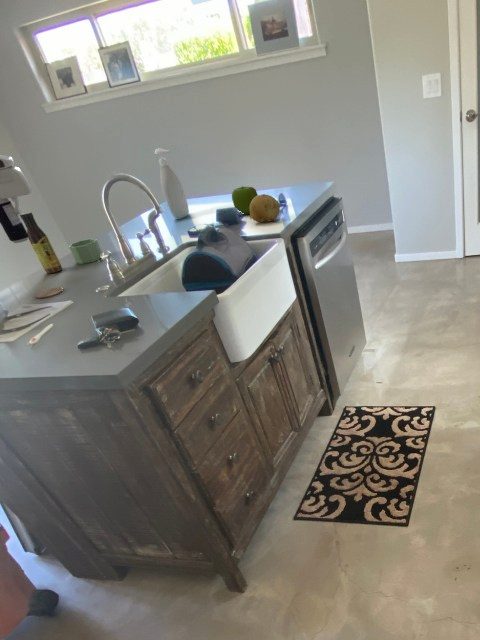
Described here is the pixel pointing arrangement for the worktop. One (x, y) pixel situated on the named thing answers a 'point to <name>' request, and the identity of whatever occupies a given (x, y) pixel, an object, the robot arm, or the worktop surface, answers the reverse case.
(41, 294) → the coaster
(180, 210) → the soap bottle
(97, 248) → the green bowl
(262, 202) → the potato
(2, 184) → the robot arm
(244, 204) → the apple
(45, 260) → the sauce bottle
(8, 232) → the beverage can
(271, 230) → the worktop surface
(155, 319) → the worktop surface
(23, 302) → the worktop surface
